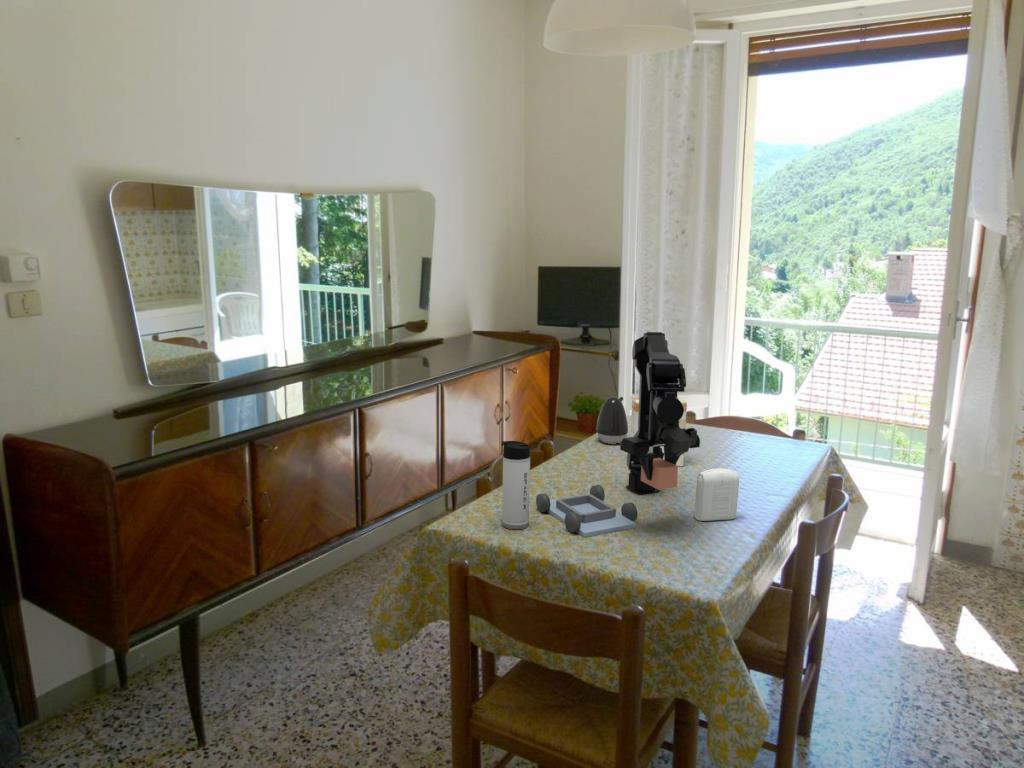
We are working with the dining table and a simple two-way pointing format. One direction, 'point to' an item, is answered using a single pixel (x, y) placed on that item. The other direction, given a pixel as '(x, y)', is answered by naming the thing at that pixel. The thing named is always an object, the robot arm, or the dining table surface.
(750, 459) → the dining table surface
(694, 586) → the dining table surface
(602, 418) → the dark grey tapered dome
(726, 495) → the photo printer
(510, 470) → the travel mug
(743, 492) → the dining table surface
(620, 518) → the chassis
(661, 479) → the salmon pink brick
